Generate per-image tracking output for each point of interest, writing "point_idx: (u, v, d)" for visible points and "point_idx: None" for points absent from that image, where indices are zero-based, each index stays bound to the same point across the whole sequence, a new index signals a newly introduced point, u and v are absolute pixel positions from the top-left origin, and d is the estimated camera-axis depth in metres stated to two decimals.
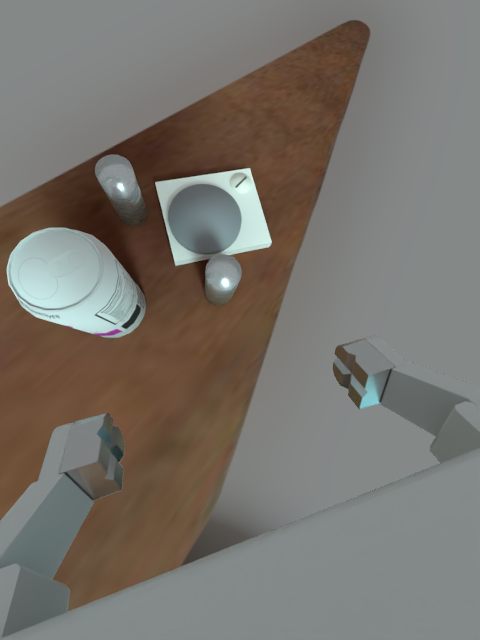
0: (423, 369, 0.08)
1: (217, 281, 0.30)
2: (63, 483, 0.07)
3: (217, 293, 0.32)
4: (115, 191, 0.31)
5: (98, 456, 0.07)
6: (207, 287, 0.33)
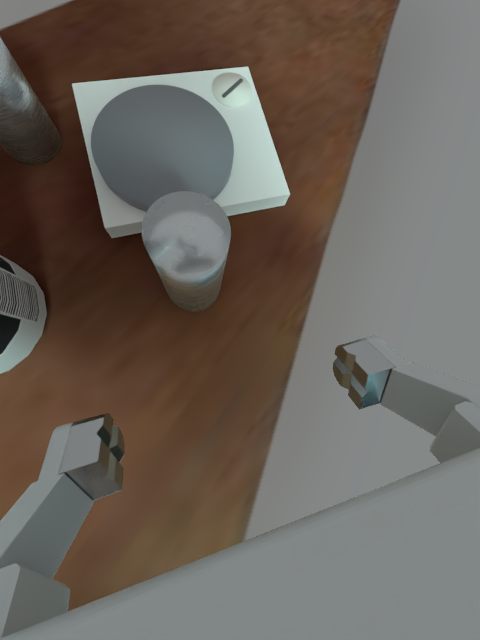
0: (423, 369, 0.08)
1: (171, 254, 0.12)
2: (63, 483, 0.07)
3: (179, 286, 0.14)
4: None
5: (98, 456, 0.07)
6: (158, 273, 0.15)
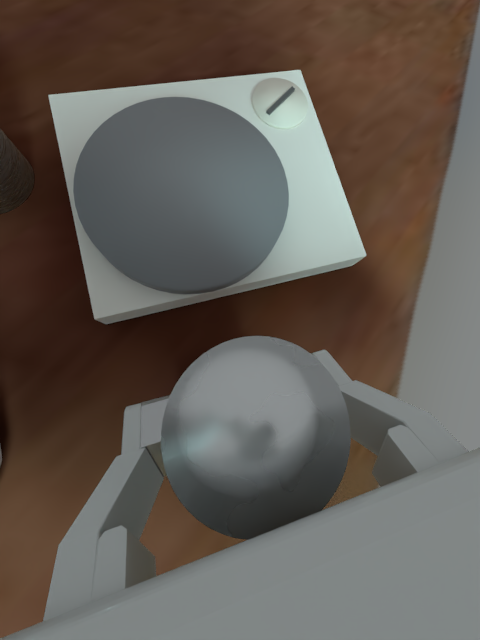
0: (365, 388, 0.08)
1: (227, 496, 0.05)
2: (144, 457, 0.07)
3: None
4: None
5: None
6: None
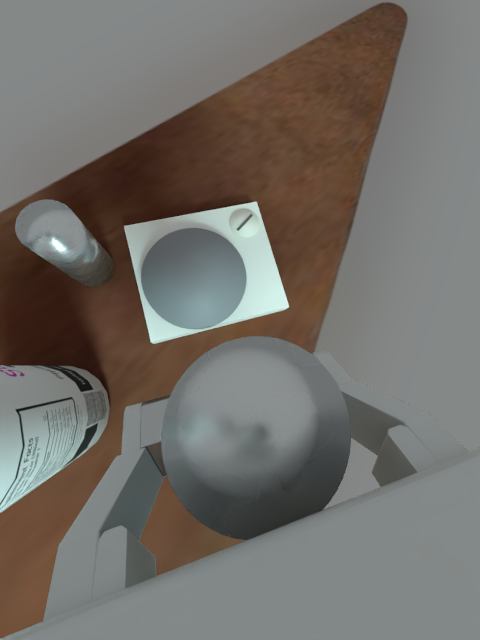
0: (365, 388, 0.08)
1: (228, 496, 0.05)
2: (144, 457, 0.07)
3: None
4: (51, 256, 0.20)
5: None
6: None
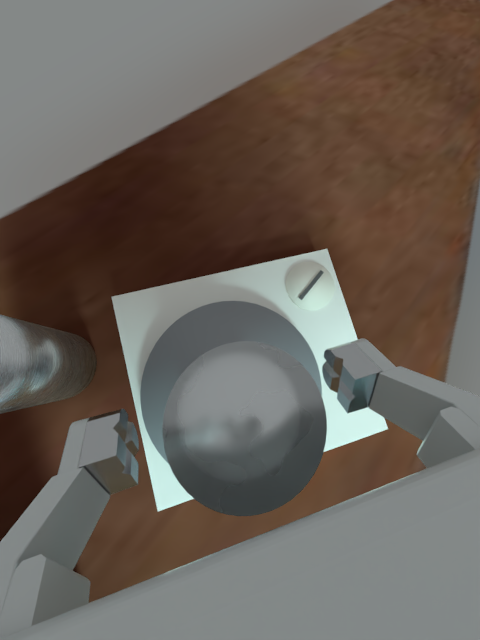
0: (410, 373, 0.08)
1: (219, 478, 0.06)
2: (82, 477, 0.07)
3: None
4: None
5: (116, 450, 0.07)
6: None
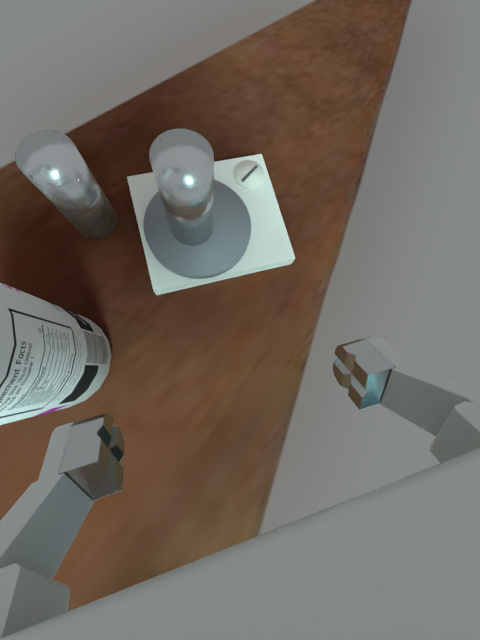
0: (423, 369, 0.08)
1: (170, 171, 0.17)
2: (63, 483, 0.07)
3: (177, 205, 0.19)
4: (51, 188, 0.20)
5: (98, 456, 0.07)
6: (161, 198, 0.20)
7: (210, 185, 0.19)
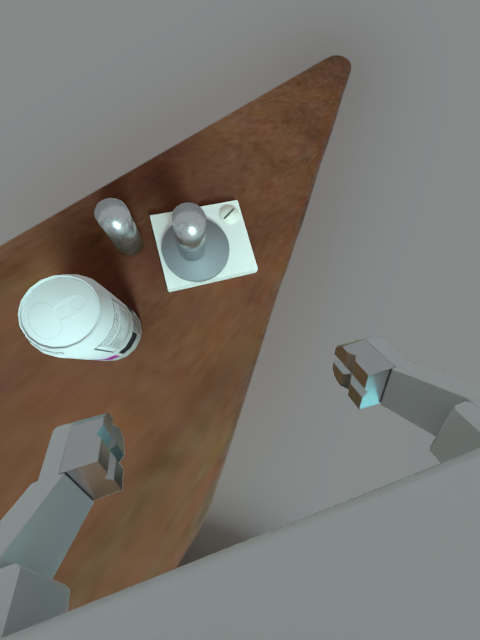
0: (423, 369, 0.08)
1: (182, 226, 0.32)
2: (63, 483, 0.07)
3: (185, 241, 0.34)
4: (113, 230, 0.34)
5: (98, 456, 0.07)
6: (176, 237, 0.35)
7: (204, 231, 0.34)
